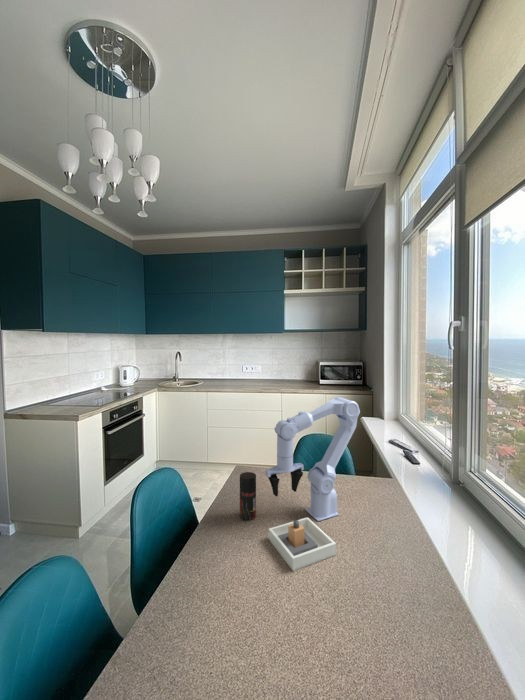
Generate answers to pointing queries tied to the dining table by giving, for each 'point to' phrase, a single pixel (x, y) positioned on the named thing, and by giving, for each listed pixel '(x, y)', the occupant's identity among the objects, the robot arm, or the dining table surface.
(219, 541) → the dining table surface
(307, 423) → the robot arm
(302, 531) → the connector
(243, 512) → the deodorant
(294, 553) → the inlet socket
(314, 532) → the walled box
